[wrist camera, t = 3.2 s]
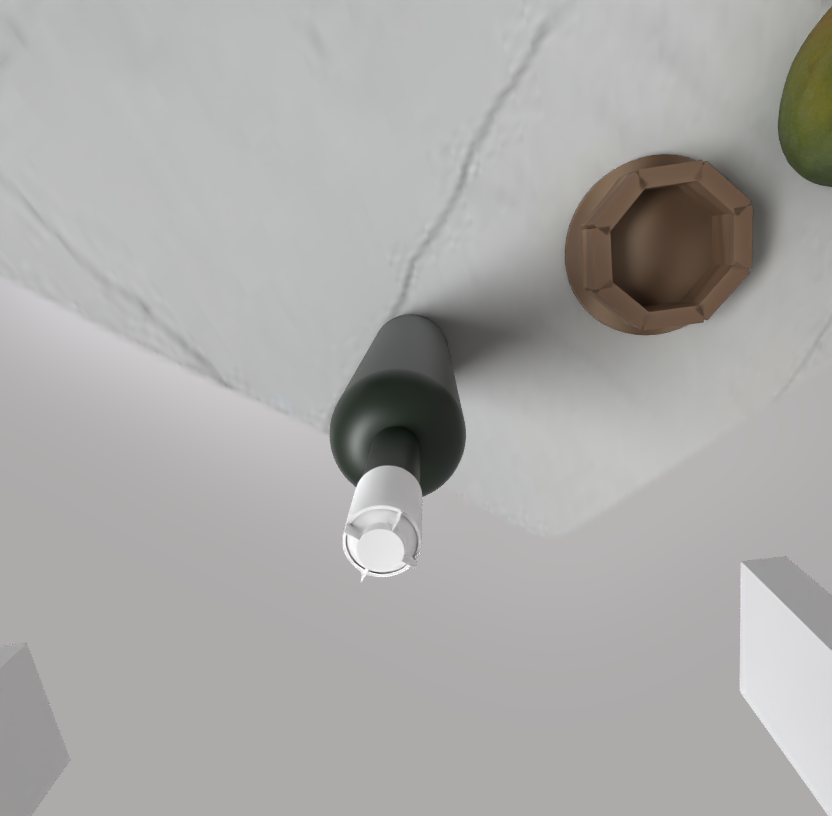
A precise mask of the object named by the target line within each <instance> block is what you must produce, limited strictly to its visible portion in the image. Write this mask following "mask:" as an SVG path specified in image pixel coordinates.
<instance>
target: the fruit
mask: <svg viewBox="0 0 832 816" xmlns="http://www.w3.org/2000/svg"><path fill="white" fill-rule="evenodd" d="M778 133H779V140H780V144H781V147H782V150H783V153H784V155H785V157H786V159H787V161H788V162H789V164H790V165H791V166H792V167H793V168H794V169H795V171H796V172H798V173H799V174H800V175H801V176H802V177H804V178H805V179H807V180H809V181H811V182H813V183H816V184H819V185H823V186H830V187H832V7H831V8H830V9H829V10H828V11H827V13H826V14H825V15H824V16H823V17H822V19H821V20H820V21H819V22H818V24H817V25H816V26H815V28H814V29H813V30H812V32H811V33H810V34H809V36H808V37H807V39H806V40H805V42H804V43H803V45H802V46H801V48H800V50H799V52H798V53H797V55H796V57H795V59H794V61H793V63H792V65H791V68H790V71H789V73H788V76H787V79H786V82H785V86H784V89H783V94H782V98H781V103H780V110H779V119H778Z"/></svg>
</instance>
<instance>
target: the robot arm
mask: <svg viewBox="0 0 832 816" xmlns="http://www.w3.org/2000/svg"><path fill="white" fill-rule="evenodd" d="M740 623H741V625H740V628H741V629H740V632H741V633H740V692H741V694H742V695H743V696H744V698H745V699H746V701H747V702H748V703H749V705H750V706H751V708H752V709H753V710H754V712H755V713H756V714H757V716H758V717H759V719H760V720H761V722H762V723H763V725H764V726H765V727H766V729H767V730H768V731H769V733H770V734H771V736H772V737H773V739H774V740H775V741H776V743H777V744H778V746H779V747H780V748H781V750H782V751H783V753H784V754H785V755H786V757H787V758H788V760H789V761H790V762H791V764H792V765H793V767H794V768H795V769H796V771H797V772H798V774H799V775H800V777H801V778H802V779H803V781H804V782H805V784H806V785H807V786H808V788H809V789H810V790H811V792H812V793H813V795H814V796H815V797H816V799H817V800H818V802H819V803H820V804H821V806H822V807H823V808H824V810H825V812H826V813H827V814H828V816H832V595H831V594H830V593H828V592H827V591H826V590H825V589H824V588H823V587H821V586H820V585H819V584H818V583H817V582H815V581H814V580H813V579H812V578H811V577H810V576H809V575H807V574H806V573H805V572H804V571H803V570H801V569H800V568H799V567H798V566H797V565H795V564H794V563H793V562H792V561H791V560H789V559H788V558H787V557H786V556H784V557H775V558H766V559H757V560H748V561H741V619H740ZM69 761H70V757H69V755H68V752H67V749H66V747H65V744H64V741H63V739H62V736H61V733H60V731H59V728H58V725H57V723H56V720H55V717H54V715H53V712H52V709H51V707H50V705H49V701H48V699H47V696H46V693H45V691H44V688H43V685H42V682H41V680H40V677H39V674H38V672H37V669H36V666H35V664H34V661H33V659H32V656H31V653H30V650H29V648H28V646H27V643H21V644H12V645H3V646H0V816H31V815H32V814H33V812H34V811H35V810H36V808H37V807H38V805H39V804H40V802H41V801H42V799H43V798H44V797H45V795H46V794H47V792H48V791H49V790H50V788H51V787H52V785H53V784H54V782H55V781H56V779H57V778H58V777H59V775H60V774H61V772H62V771H63V769H64V768H65V767H66V765H67V764H68V762H69Z"/></svg>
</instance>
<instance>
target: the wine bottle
mask: <svg viewBox="0 0 832 816" xmlns="http://www.w3.org/2000/svg"><path fill="white" fill-rule="evenodd" d="M465 440H466V429H465V422H464V417H463V413H462V408H461V404H460V399H459V395H458V390H457V386H456V381H455V377H454V372H453V368H452V364H451V359H450V355H449V350H448V346H447V342H446V339H445V336H444V334H443V333H442V331H441V330H440V328H439V327H438V326H437V325H436V324H434V323H433V322H432V321H430V320H429V319H427V318H424V317H422V316H418V315H402V316H399V317H396V318H394V319H392V320H390V321H389V322H387V323H386V324H385V325H384V326H383V327H382V328H381V329H380V331H379V332H378V334H377V336H376V337H375V339H374V341H373V342H372V344H371V346H370V348H369V349H368V351H367V353H366V355H365V356H364V358H363V360H362V362H361V363H360V365H359V367H358V368H357V370H356V372H355V374H354V375H353V377H352V379H351V381H350V382H349V384H348V386H347V388H346V389H345V391H344V393H343V395H342V396H341V398H340V400H339V401H338V403H337V405H336V407H335V410H334V412H333V415H332V419H331V424H330V444H331V449H332V453H333V456H334V459H335V461H336V463H337V465H338V467H339V469H340V470H341V472H342V473H343V475H344V476H345V477H346V478H347V479H348V480H349V481H350V482H351V483H352V484H353V485H354V486H355V487H356V491H355V494H354V497H353V501H352V504H351V507H350V511H349V514H348V518H347V521H346V525H345V528H344V531H343V536H342V545H343V549H344V552H345V555H346V556H347V558H348V560H349V561H350V563H351V564H352V565H353V566H354V567H356V568H357V569H358V570H360V571H361V574H362V580H361V582H362V581H363V579H364V577H365V576H366V574H368V575H371V576H376V577H389V576H394V575H397V574H400V573H402V572H404V571H405V570H407V569H408V568H409V567H413V568H415V569H416V562H417V558H418V556H419V553H420V550H421V544H422V497H423V496H426V495H427V494H430V493H432V492H433V491H435V490H436V489H438V488H439V487H441V486H442V485H443V484H444V483H445V482H446V481H447V480H448V479H449V478H450V477H451V475H452V474H453V473H454V471H455V470H456V468H457V466H458V464H459V462H460V460H461V458H462V455H463V452H464V447H465Z"/></svg>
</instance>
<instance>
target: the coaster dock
mask: <svg viewBox="0 0 832 816" xmlns="http://www.w3.org/2000/svg"><path fill="white" fill-rule="evenodd" d="M750 202H751V200H750V199H748V198H747V197H746V196H745V195H744V194H743V193H742V192H741V191H739V190H738V189H737V188H736V187H735V186H734V185H733V184H732V183H731V182H729V181H728V180H727V179H726V178H725V177H724V176H723V175H722V174H720V173H719V172H718V171H717V170H716V169H715V168H714V167H713V166H712V165H710V164H709V163H708V162H707V161H706V162H702V160H699V161H696V160H693V159H690V158H687V157H683V156H678V155H665V154H664V155H652V156H647V157H643V158H639V159H636V160H634V161H631V162H628V163H626V164H624V165H622V166H620V167H618V168H616V169H614V170H613V171H611V172H610V173H608V174H607V175H605V176H604V177H603V178H602V179H600V180H599V181H598V182H597V183H596V184H595V185H594V186H593V187H592V188H591V189H590V190H589V192H588V193H587V194H586V195H585V197H584V198H583V199H582V201H581V202H580V204H579V206H578V207H577V209H576V211H575V213H574V215H573V218H572V220H571V223H570V225H569V229H568V233H567V237H566V245H565V265H566V272H567V276H568V279H569V283H570V285H571V287H572V290H573V292H574V294H575V296H576V297H577V299H578V301H579V302H580V303H581V305H582V306H583V307H584V308H585V310H586V311H588V312H589V313H590V314H591V315H592V316H593V317H594V318H596V319H597V320H598V321H600V322H601V323H603V324H605V325H607V326H609V327H611V328H613V329H616V330H619V331H622V332H625V333H630V334H635V335H656V334H662V333H667V332H671V331H674V330H677V329H680V328H682V327H684V326H686V325H688V324H694V323H702V322H704V319H705V320H708V319H709V318H710V317H711V316H712V315H713V313H714V312H715V311H716V310H717V309H718V308H719V307H720V306H721V304H722V303H723V302H724V301H725V300H726V299H727V298H728V297H729V296H730V294H731V293H732V292H733V291H734V290H735V289H736V288H737V287H738V285H739V284H740V283H741V282H742V281H743V280H744V279H745V278H746V276H747V275H748V274H749V273H750V272H749V271H748V270H747V269H748V268H752V237H753V205H750V206H748V204H749V203H750Z"/></svg>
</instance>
